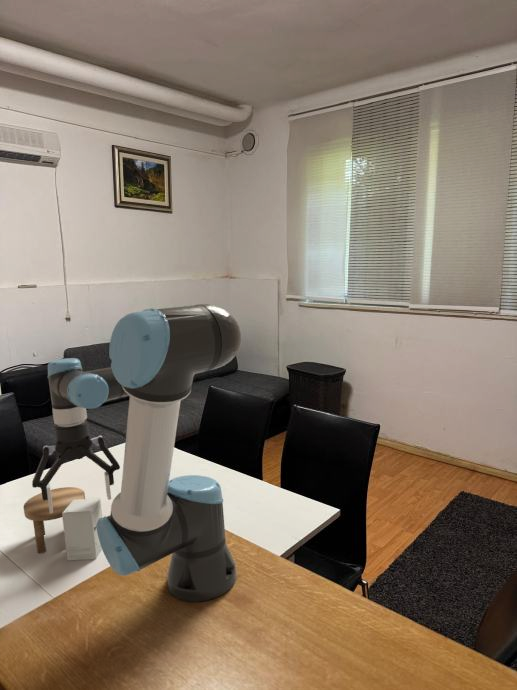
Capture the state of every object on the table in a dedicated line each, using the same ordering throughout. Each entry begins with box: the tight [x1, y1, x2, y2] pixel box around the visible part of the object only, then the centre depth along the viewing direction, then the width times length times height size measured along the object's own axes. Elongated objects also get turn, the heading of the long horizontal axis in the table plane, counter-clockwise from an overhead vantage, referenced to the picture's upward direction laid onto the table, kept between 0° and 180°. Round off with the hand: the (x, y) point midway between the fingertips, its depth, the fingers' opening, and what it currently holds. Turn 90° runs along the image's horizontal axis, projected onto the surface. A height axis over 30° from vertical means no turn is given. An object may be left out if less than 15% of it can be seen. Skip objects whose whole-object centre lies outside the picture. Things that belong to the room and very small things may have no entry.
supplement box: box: [61, 497, 104, 561], centre depth 120 cm, size 7×7×13 cm
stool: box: [23, 486, 86, 555], centre depth 127 cm, size 15×15×11 cm
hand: (80, 504), depth 119 cm, fingers open, 13 cm apart
